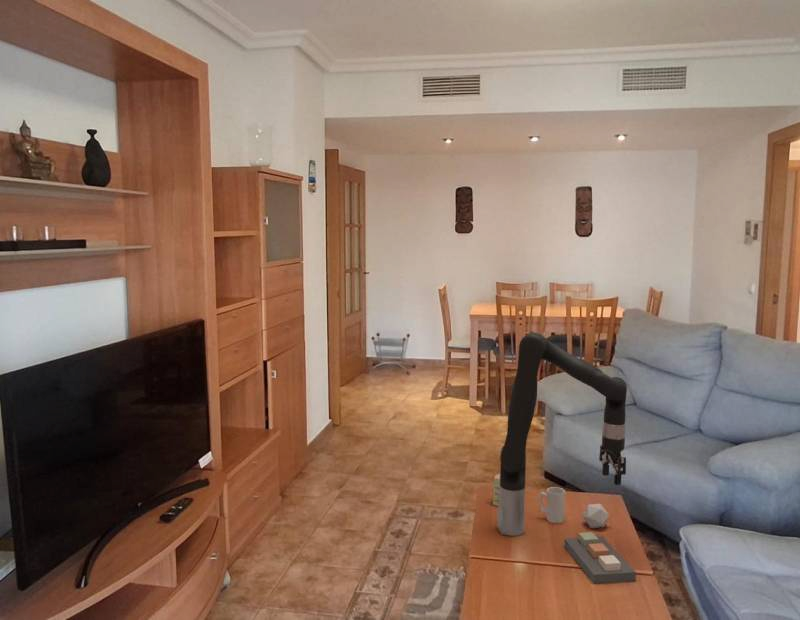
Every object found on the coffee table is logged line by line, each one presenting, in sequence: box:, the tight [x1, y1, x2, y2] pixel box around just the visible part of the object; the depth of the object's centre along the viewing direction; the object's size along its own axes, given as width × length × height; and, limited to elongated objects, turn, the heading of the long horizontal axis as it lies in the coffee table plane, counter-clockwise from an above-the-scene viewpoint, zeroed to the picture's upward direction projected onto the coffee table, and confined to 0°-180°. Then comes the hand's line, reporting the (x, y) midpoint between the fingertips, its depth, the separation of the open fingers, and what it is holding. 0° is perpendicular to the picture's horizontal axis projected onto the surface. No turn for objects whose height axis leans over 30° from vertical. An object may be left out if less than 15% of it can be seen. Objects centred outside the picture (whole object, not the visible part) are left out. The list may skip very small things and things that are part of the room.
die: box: [582, 503, 610, 529], centre depth 231 cm, size 8×9×10 cm
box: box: [492, 473, 500, 507], centre depth 250 cm, size 10×6×12 cm, turn 65°
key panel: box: [563, 535, 637, 585], centre depth 205 cm, size 14×24×3 cm, turn 7°
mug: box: [537, 486, 566, 524], centre depth 236 cm, size 10×7×12 cm, turn 80°
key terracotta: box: [588, 543, 609, 559], centre depth 204 cm, size 5×5×4 cm
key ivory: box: [598, 555, 621, 572], centre depth 197 cm, size 5×5×4 cm
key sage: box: [578, 531, 598, 547], centre depth 212 cm, size 5×5×4 cm
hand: (611, 479), depth 214 cm, fingers open, 8 cm apart
